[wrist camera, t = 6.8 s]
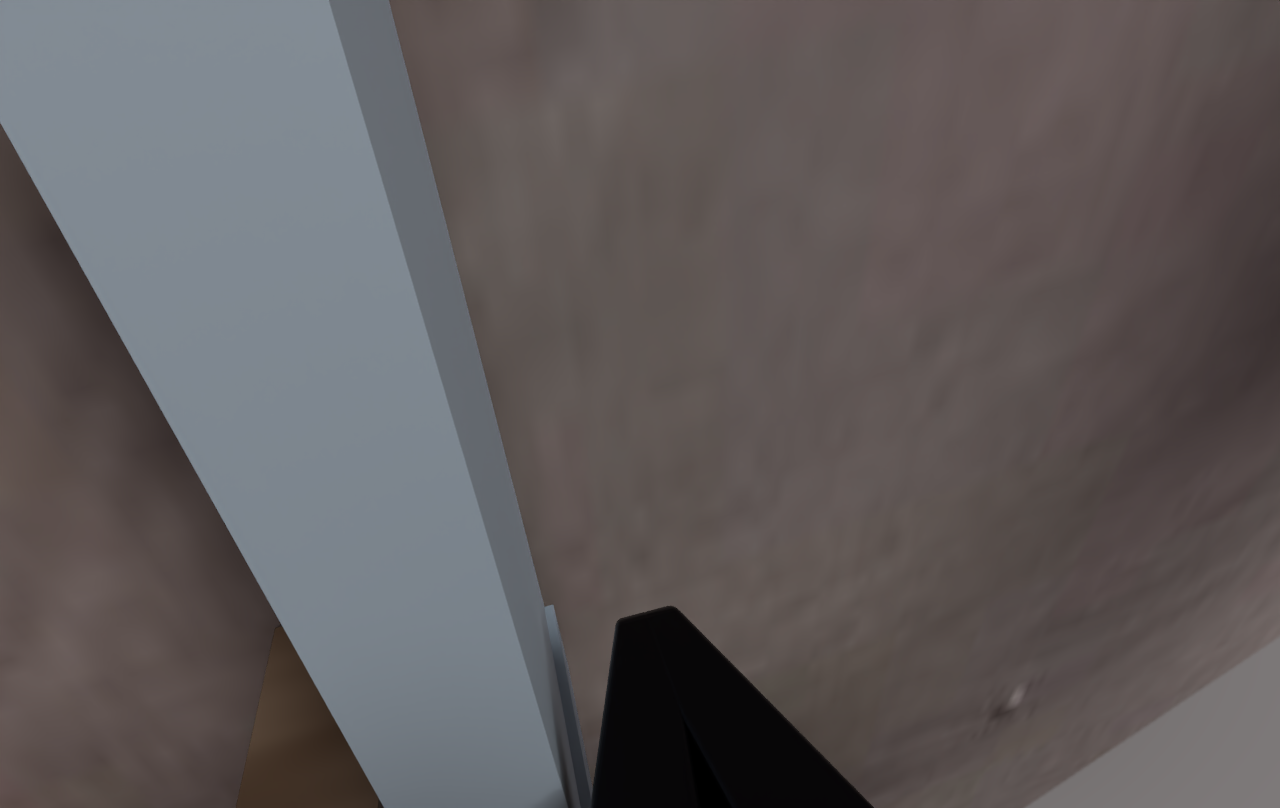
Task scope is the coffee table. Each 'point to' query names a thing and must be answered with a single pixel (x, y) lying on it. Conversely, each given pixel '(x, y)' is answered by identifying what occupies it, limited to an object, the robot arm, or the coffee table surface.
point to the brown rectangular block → (299, 744)
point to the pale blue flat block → (311, 360)
